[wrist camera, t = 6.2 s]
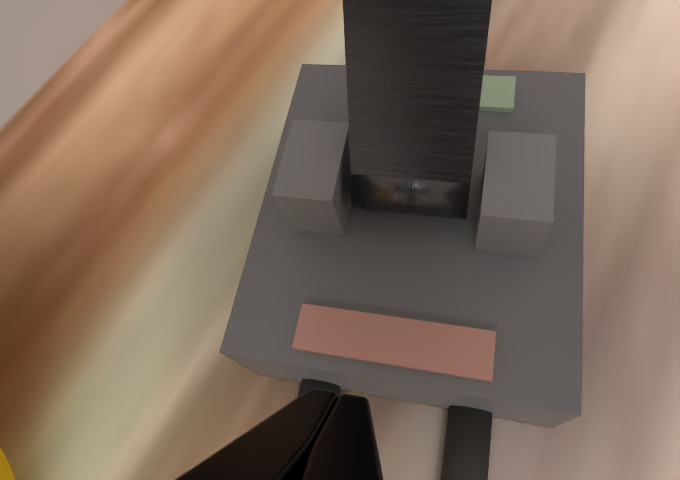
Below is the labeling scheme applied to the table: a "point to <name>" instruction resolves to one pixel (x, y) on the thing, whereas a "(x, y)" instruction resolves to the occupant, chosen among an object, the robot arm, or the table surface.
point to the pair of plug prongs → (450, 437)
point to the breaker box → (426, 261)
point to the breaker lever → (414, 102)
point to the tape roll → (5, 468)
